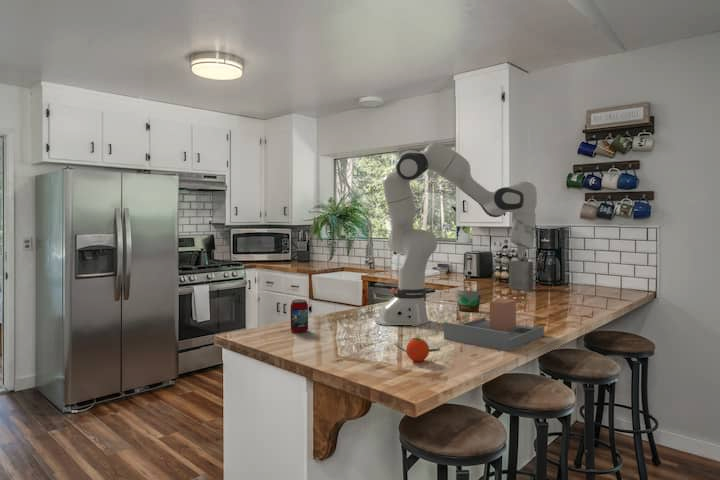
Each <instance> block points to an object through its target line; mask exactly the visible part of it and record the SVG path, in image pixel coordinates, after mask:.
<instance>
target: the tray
mask: <svg viewBox="0 0 720 480" xmlns="http://www.w3.org/2000/svg"><path fill="white" fill-rule="evenodd" d="M544 336H545V326H544V325H541V326H538V327H535V326H527V325H520V324H516V327H513V328H510V329H507V330H505V331H501V330H495V329H490V319H487V318H486V317H485V316H484V317H481V318H477V319H474V320H469V321H467V322H463V323H455V322H448V321H444V322H443V339H444V340H446V341H447V340H448V341H452V342H457V343H463V344H466V345H473V346H478V347H483V348H488V349H494V350H499V351H503V352H509V351H512V350H514V349H517V348H519V347H521V346H523V345H526V344H528V343H530V342H532V341H535V340H537V339H540V338H541V337H544Z"/></svg>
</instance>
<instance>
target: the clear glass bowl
mask: <svg viewBox="0 0 720 480" xmlns="http://www.w3.org/2000/svg"><path fill="white" fill-rule="evenodd" d="M416 338H421V337H420V335H418V334H416V336H415V337H413V338H412V339H416ZM423 340H424V341H425V342H426V343H427V344H428V345H430V346H432V347H433V348H435V349H433V348H432V347H431V348H429V351H437V350H440V349H441V347H438V346H437V345H435V344H433V343H432V342H430V341H428V340H427V339H423ZM410 341H411V340H408V341H396V342H395V341H394V342H393V344H395V345H397V346H398V347H399V348H401V349H402V350H404V351H405V352H406V349H405V348H404V347H403V348H402V346H401V345H400V346H399V345H398V344H397V343H403V342H410ZM430 346H429V347H430Z"/></svg>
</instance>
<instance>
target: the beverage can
mask: <svg viewBox="0 0 720 480" xmlns="http://www.w3.org/2000/svg"><path fill="white" fill-rule="evenodd" d="M308 330H309V304H308V301H307V299H300V298H299V299H293V300H292V301H291V303H290V331H291V332H293V333H295V334H301V333H305V332H307V331H308Z"/></svg>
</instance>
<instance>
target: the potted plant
mask: <svg viewBox="0 0 720 480" xmlns="http://www.w3.org/2000/svg"><path fill="white" fill-rule="evenodd" d="M455 294H456V295H457V306H458V311H459V312H463V313H479V311H480V306H481V297H482V295H483V291H482V290H481V289H480V290H461V289H456V291H455Z"/></svg>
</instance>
